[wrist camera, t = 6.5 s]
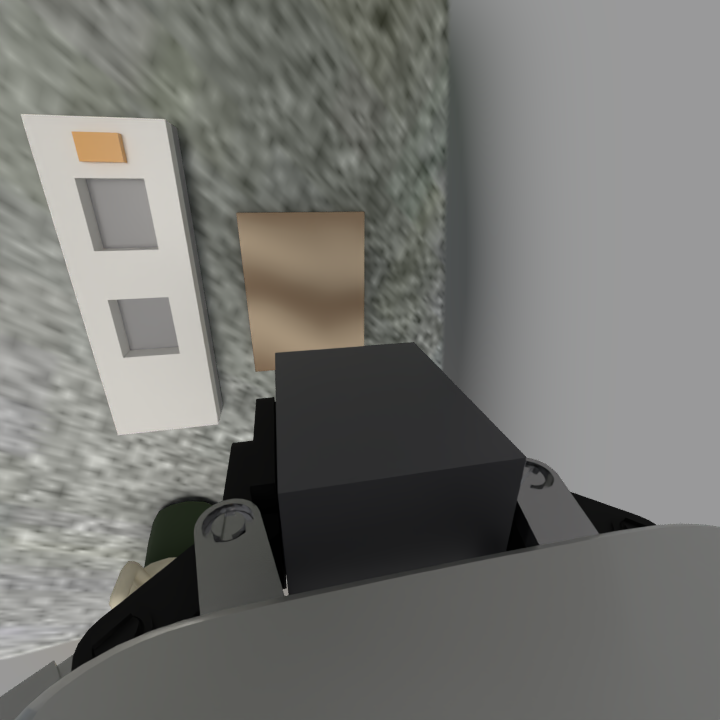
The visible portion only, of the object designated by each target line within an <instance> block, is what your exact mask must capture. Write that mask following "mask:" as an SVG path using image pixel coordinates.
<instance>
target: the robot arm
mask: <svg viewBox="0 0 720 720" xmlns="http://www.w3.org/2000/svg"><path fill="white" fill-rule="evenodd" d="M194 542H195V543H194V544H193V545H192V546H190V547H189V548H188V549H187V550H185V551H184V552H183V553H182V554H180V555H179V556H178V557H177V558H175V559H174V560H173V561H172V562H170V563H169V564H168V565H167V566H165V567H164V568H163V569H162V570H160V571H159V572H158V573H157V574H155V575H154V576H153V577H152V578H150V579H149V580H148V581H147V582H145V583H144V584H143V585H142V586H140V587H139V588H138V589H137V590H135V591H134V592H133V593H132V594H131V595H129V596H128V597H127V598H126V599H124V600H123V601H122V602H121V603H119V604H118V605H117V606H116V607H114V608H113V609H112V610H111V611H109V612H108V613H107V614H106V615H104V616H103V617H102V618H101V619H99V620H98V621H97V622H96V623H95V624H94V625H93V626H92V627H91V628H90V629H89V630H88V631H87V632H86V634H85V635H84V637H83V638H82V639H81V641H80V642H79V643H78V646H77V648H76V650H75V653H74V655H72V656H71V657H69V658H68V659H66V660H65V661H63V662H62V663H61V664H59V665H58V666H57V665H56V663H55V661H52V662H51V663H49V664H48V665H47V666H45V667H44V668H42V669H41V670H39V671H38V672H36V673H35V674H33V675H32V676H30V677H29V678H27V679H26V680H24V681H23V682H21V683H20V684H19V685H17V686H16V687H14V688H13V689H11V690H10V691H8V692H7V693H5V694H4V695H2V696H1V697H0V720H720V527H716V526H709V525H699V524H668V525H656V524H654V523H652V522H651V521H649V520H647V519H645V518H642V517H640V516H638V515H635V514H632V513H629V512H626V511H623V510H620V509H618V508H615V507H612V506H609V505H606V504H604V503H601V502H597V501H595V500H592V499H589V498H586V497H583V496H581V495H578V494H575V493H572V492H570V491H569V490H568V488H567V487H566V485H565V484H564V482H563V481H562V480H561V478H560V477H559V475H558V474H557V473H556V472H555V471H554V470H553V469H552V468H551V467H549V466H548V465H546V464H544V463H542V462H540V461H537V460H534V459H531V458H526V462H525V466H524V471H523V475H522V480H521V485H520V489H519V494H518V498H517V503H516V508H515V512H514V517H513V521H512V526H511V531H510V535H509V540H508V544H507V549H506V552H501V553H496V554H491V555H486V556H481V557H476V558H471V559H466V560H461V561H456V562H450V563H445V564H440V565H435V566H430V567H425V568H420V569H415V570H410V571H405V572H400V573H395V574H390V575H385V576H381V577H376V578H371V579H366V580H361V581H356V582H351V583H346V584H341V585H337V586H332V587H327V588H322V589H317V590H312V591H307V592H302V593H298V594H293V595H288V596H284V593H283V589H285V588H287V587H286V565H285V556H284V547H283V537H282V528H281V519H280V509H279V500H278V478H277V430H276V402H275V400H274V397H272V398H262V399H256V410H255V424H254V437H253V441H246V442H238V443H233V444H232V446H231V452H230V458H229V465H228V471H227V477H226V483H225V490H224V496H223V501H222V502H219V503H217V504H214V505H213V506H211V507H210V508H208V509H207V510H205V511H204V512H203V514H202V515H201V516H200V517H199V518H198V520H197V522H196V524H195V528H194Z"/></svg>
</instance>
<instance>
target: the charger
mask: <svg viewBox="0 0 720 720" xmlns="http://www.w3.org/2000/svg"><path fill="white" fill-rule="evenodd" d="M275 381H276V430H277V478H278V500H279V509H280V519H281V528H282V537H283V547H284V556H285V565H286V575H287V584H288V593H289V595H293V594H298V593H302V592H307V591H312V590H317V589H322V588H327V587H332V586H337V585H341V584H346V583H351V582H356V581H361V580H366V579H371V578H376V577H381V576H385V575H390V574H395V573H400V572H405V571H410V570H415V569H420V568H425V567H430V566H435V565H440V564H445V563H450V562H456V561H461V560H466V559H471V558H476V557H481V556H486V555H491V554H496V553H501V552H506V549H507V544H508V540H509V535H510V531H511V526H512V521H513V517H514V512H515V508H516V503H517V498H518V494H519V489H520V485H521V480H522V475H523V471H524V466H525V462H526V456H525V455H524V454H523V453H522V452H521V451H520V450H519V449H518V448H517V447H516V446H515V445H514V444H513V443H512V442H511V441H510V440H509V439H508V438H507V437H506V436H505V435H504V434H503V433H502V432H501V431H500V430H499V429H498V428H497V427H496V426H495V425H494V424H493V423H492V422H491V421H490V420H489V418H487V416H486V415H485V414H484V413H483V412H482V411H481V410H480V409H479V408H478V407H477V406H476V405H475V404H474V403H473V402H472V401H471V400H470V399H469V398H468V397H467V396H466V395H465V394H464V393H463V392H462V391H461V390H460V389H459V388H458V387H457V386H456V385H455V384H454V383H453V382H452V381H451V380H450V379H449V378H448V377H447V375H446V374H445V373H444V372H443V371H442V370H441V369H440V368H439V367H438V366H437V365H436V364H435V363H434V362H433V361H432V360H431V359H430V358H429V357H428V356H427V355H426V354H425V353H424V352H423V351H422V350H421V349H420V348H419V347H418V346H417V345H416V344H415V343H414V342H411V343H398V344H384V345H371V346H358V347H345V348H331V349H318V350H305V351H291V352H278V353H275Z"/></svg>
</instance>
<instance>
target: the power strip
mask: <svg viewBox="0 0 720 720" xmlns="http://www.w3.org/2000/svg"><path fill="white" fill-rule="evenodd" d="M21 117H22V121H23V124H24V127H25V130H26V134H27V137H28V140H29V144H30V147H31V150H32V153H33V157H34V160H35V163H36V167H37V170H38V173H39V176H40V180H41V183H42V186H43V190H44V193H45V196H46V200H47V203H48V206H49V209H50V213H51V216H52V219H53V223H54V226H55V229H56V232H57V236H58V239H59V242H60V246H61V249H62V252H63V255H64V259H65V262H66V265H67V269H68V272H69V275H70V278H71V282H72V285H73V288H74V292H75V295H76V298H77V301H78V305H79V308H80V311H81V315H82V318H83V321H84V325H85V328H86V331H87V334H88V338H89V341H90V344H91V348H92V351H93V354H94V357H95V361H96V364H97V367H98V371H99V374H100V377H101V380H102V384H103V387H104V390H105V394H106V397H107V400H108V403H109V407H110V410H111V413H112V417H113V420H114V423H115V426H116V430H117V433H118V435H125V434H134V433H143V432H152V431H161V430H170V429H179V428H188V427H197V426H206V425H215V424H219V420H220V416H221V411H222V407H223V402H222V396H221V390H220V384H219V378H218V372H217V366H216V360H215V354H214V348H213V342H212V336H211V330H210V324H209V318H208V312H207V306H206V300H205V293H204V287H203V281H202V275H201V269H200V263H199V257H198V251H197V245H196V239H195V233H194V227H193V221H192V215H191V209H190V203H189V197H188V191H187V185H186V179H185V173H184V167H183V161H182V155H181V149H180V143H179V137H178V131H177V128H176V127H175V126H174V125H172V124H171V123H169V122H168V121H167V120H165V119H147V118H119V117H91V116H63V115H34V114H21Z"/></svg>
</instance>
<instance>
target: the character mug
mask: <svg viewBox="0 0 720 720" xmlns="http://www.w3.org/2000/svg"><path fill="white" fill-rule="evenodd" d="M211 506H213V505H211V504H209V503H206V502H198V501H186V502H182V503H177V504H173V505H170V506H168V507H166V508H165V509H163V510H161V511H159V513H158V515H157V516H156V518H155V520H154V522H153V525H152V530H151V534H150V538H149V542H148V548H147V554H146V560H145V566H144V568H143V567H142V566H141V565H140V564H139V563H137V562H134V561H128V563H127V564H126V565H125V566H124V567H123V568H122V570H121V572H120V574H119V577H118V579H117V582H116V584H115V587H114V589H113V592H112V594H111V597H110V602H109V605H110V607H111V609H113V608H114V607H116V606H117V605H118V604H119V603H121V602H122V601H123V600H124V599H126V598H127V597H128V596H129V595H131V594H132V593H133V592H134V591H135V590H137V589H138V588H139V587H140V586H142V585H143V584H144V583H145V582H147V581H148V580H149V579H150V578H152V577H153V576H154V575H155V574H157V573H158V572H159V571H160V570H162V569H163V568H164V567H165V566H167V565H168V564H169V563H170V562H172V561H173V560H174V559H175V558H177V557H178V556H179V555H180V554H182V553H183V552H184V551H185V550H187V549H188V548H189V547H190V546H192V545H193V544H194V543H195V542H194V528H195V524H196V522H197V520H198V518H199V517H200V516H201V515H202V514H203V512H204V511H205V510H207V509H208V508H210V507H211Z"/></svg>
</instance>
